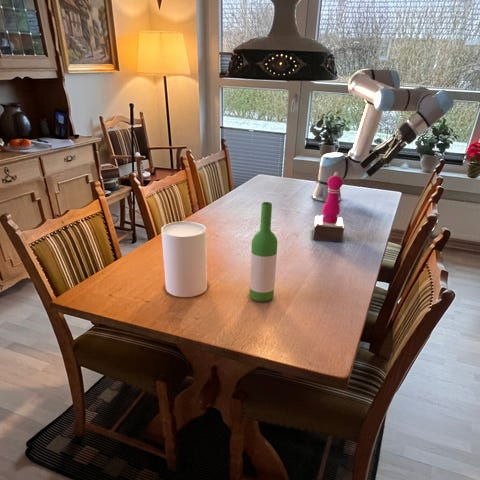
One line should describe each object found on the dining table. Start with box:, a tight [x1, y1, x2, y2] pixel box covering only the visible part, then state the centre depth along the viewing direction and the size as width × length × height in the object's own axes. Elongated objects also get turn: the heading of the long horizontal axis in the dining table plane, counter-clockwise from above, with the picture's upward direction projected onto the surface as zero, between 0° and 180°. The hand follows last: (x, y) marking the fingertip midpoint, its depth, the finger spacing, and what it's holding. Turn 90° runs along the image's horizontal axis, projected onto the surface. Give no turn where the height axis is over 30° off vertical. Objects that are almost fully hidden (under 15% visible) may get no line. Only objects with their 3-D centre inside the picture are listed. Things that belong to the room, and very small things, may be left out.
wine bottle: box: [249, 201, 278, 303], centre depth 124 cm, size 8×8×30 cm
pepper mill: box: [322, 172, 344, 223], centre depth 170 cm, size 7×7×20 cm
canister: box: [160, 220, 208, 298], centre depth 131 cm, size 14×14×20 cm
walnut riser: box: [312, 215, 345, 243], centre depth 177 cm, size 12×12×7 cm
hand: (364, 170), depth 164 cm, fingers open, 13 cm apart
